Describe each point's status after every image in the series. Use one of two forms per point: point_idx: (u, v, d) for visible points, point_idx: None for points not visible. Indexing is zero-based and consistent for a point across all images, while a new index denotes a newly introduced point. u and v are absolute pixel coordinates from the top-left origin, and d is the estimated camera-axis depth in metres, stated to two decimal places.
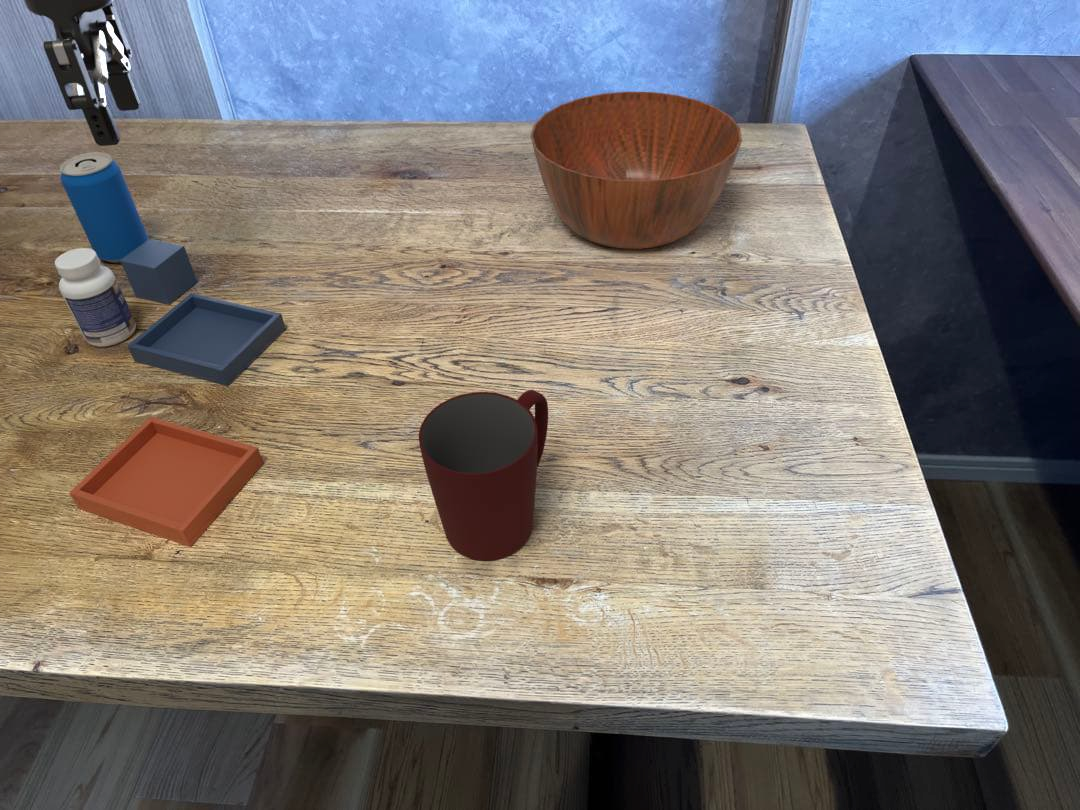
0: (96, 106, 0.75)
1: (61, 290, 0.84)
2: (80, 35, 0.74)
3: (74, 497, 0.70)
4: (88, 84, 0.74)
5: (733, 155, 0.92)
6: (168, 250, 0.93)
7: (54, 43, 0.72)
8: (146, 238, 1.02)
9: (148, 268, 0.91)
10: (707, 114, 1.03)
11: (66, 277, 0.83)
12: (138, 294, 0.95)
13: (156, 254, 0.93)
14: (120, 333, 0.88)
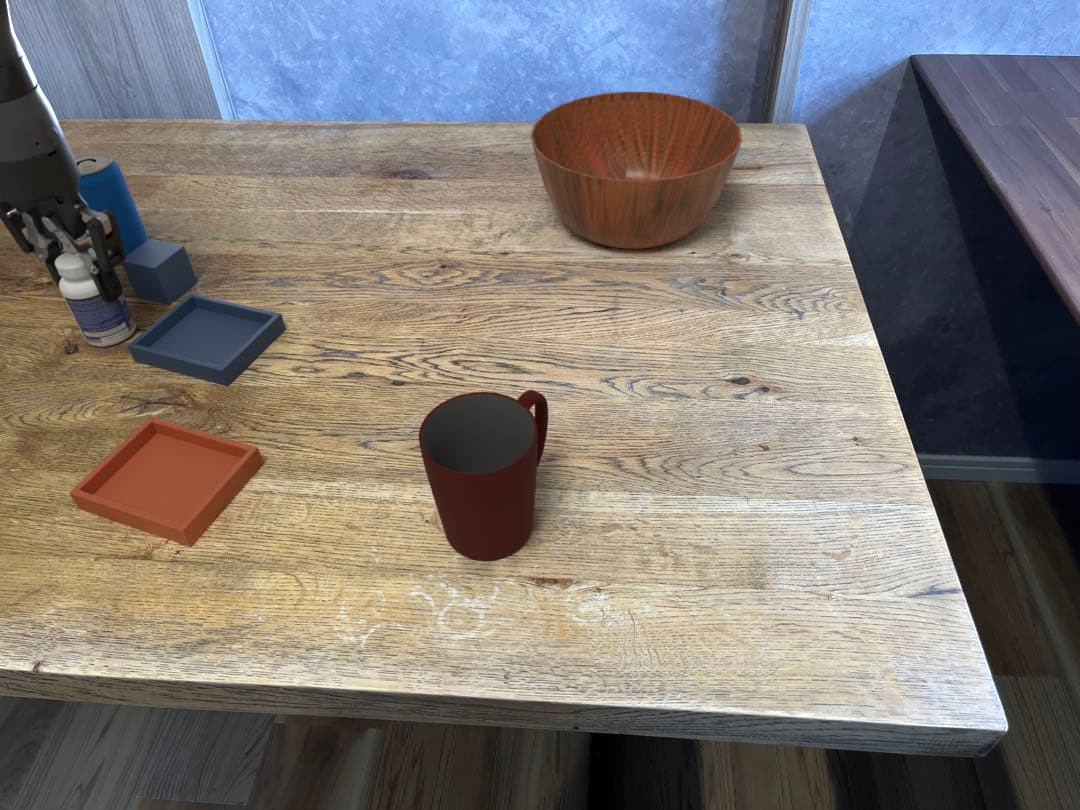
0: None
1: (61, 290, 0.84)
2: None
3: (74, 497, 0.70)
4: None
5: (733, 155, 0.92)
6: (168, 250, 0.93)
7: (101, 218, 0.78)
8: (146, 238, 1.02)
9: (148, 268, 0.91)
10: (707, 114, 1.03)
11: (66, 277, 0.83)
12: (138, 294, 0.95)
13: (156, 254, 0.93)
14: (120, 333, 0.88)
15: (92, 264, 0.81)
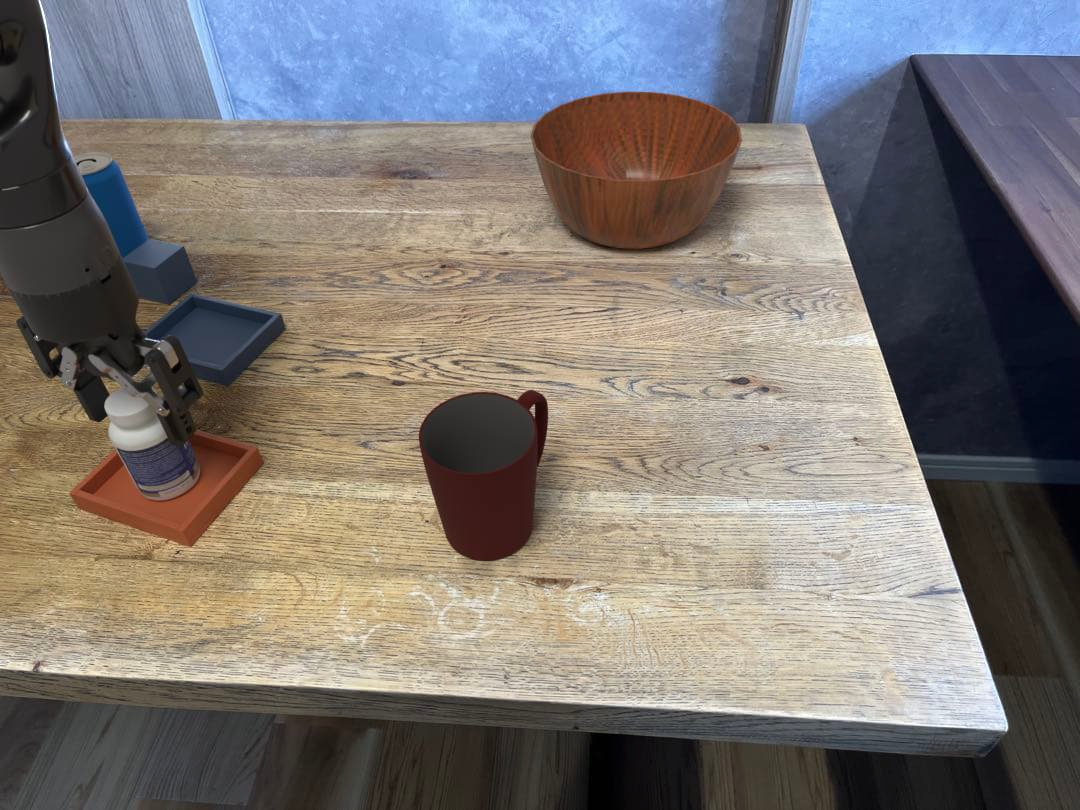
0: None
1: (112, 439, 0.67)
2: (144, 334, 0.61)
3: (74, 497, 0.70)
4: None
5: (733, 155, 0.92)
6: (168, 250, 0.93)
7: (161, 348, 0.59)
8: (146, 238, 1.02)
9: (148, 268, 0.91)
10: (707, 114, 1.03)
11: (119, 425, 0.65)
12: (138, 294, 0.95)
13: (156, 254, 0.93)
14: (183, 484, 0.71)
15: (161, 405, 0.62)
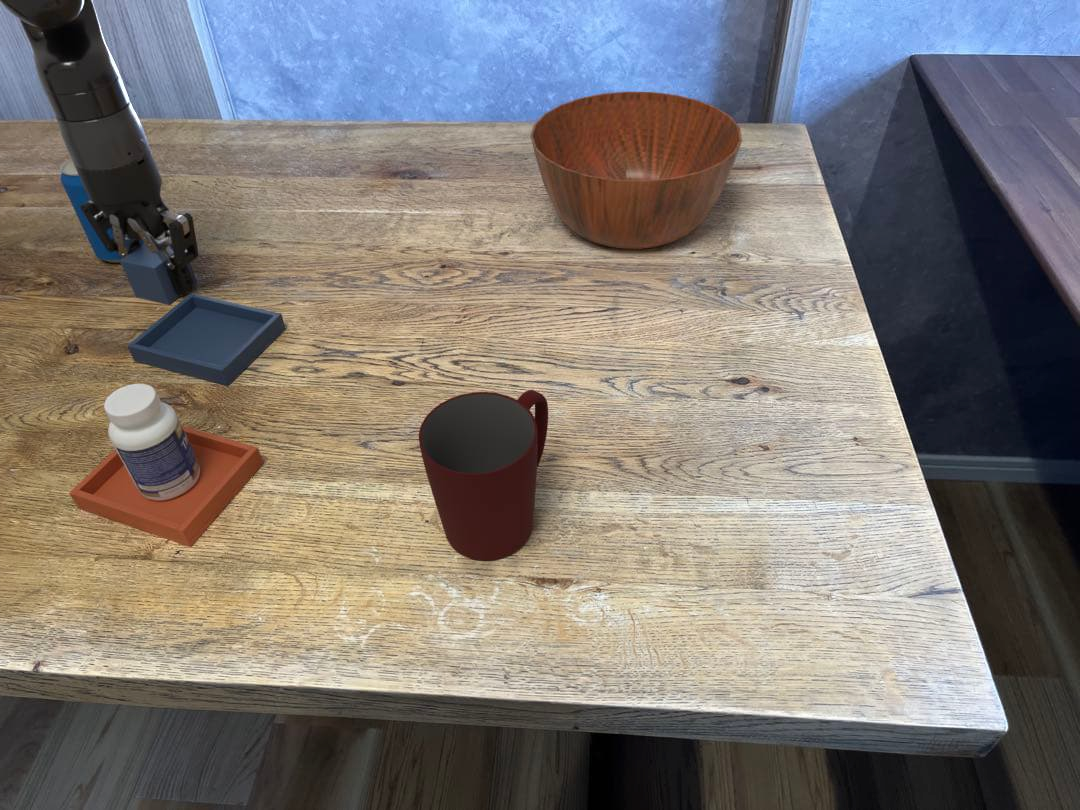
0: None
1: (112, 439, 0.67)
2: None
3: (74, 497, 0.70)
4: None
5: (733, 155, 0.92)
6: (168, 250, 0.93)
7: (181, 221, 0.87)
8: None
9: (148, 268, 0.91)
10: (707, 114, 1.03)
11: (119, 425, 0.65)
12: (138, 294, 0.95)
13: (156, 254, 0.93)
14: (183, 484, 0.71)
15: (169, 261, 0.91)
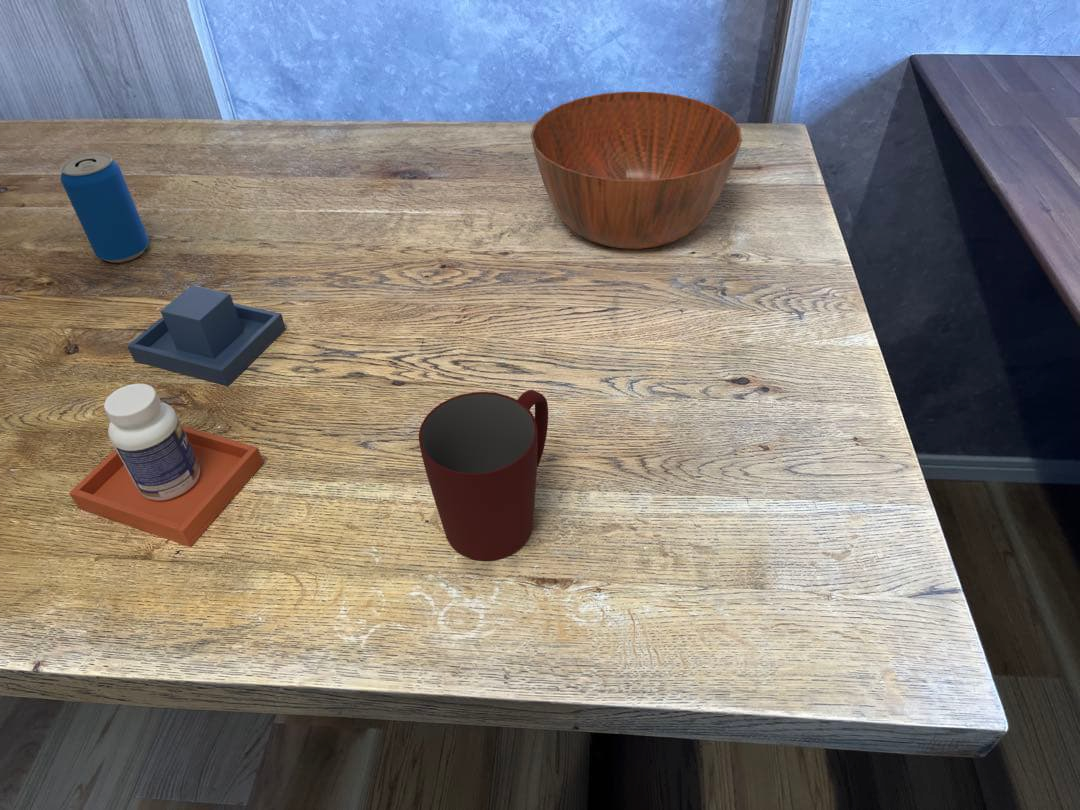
0: None
1: (112, 439, 0.67)
2: None
3: (74, 497, 0.70)
4: None
5: (733, 155, 0.92)
6: (213, 298, 0.85)
7: None
8: (146, 238, 1.02)
9: (193, 320, 0.82)
10: (707, 114, 1.03)
11: (119, 425, 0.65)
12: (179, 346, 0.86)
13: (200, 303, 0.84)
14: (183, 484, 0.71)
15: None
